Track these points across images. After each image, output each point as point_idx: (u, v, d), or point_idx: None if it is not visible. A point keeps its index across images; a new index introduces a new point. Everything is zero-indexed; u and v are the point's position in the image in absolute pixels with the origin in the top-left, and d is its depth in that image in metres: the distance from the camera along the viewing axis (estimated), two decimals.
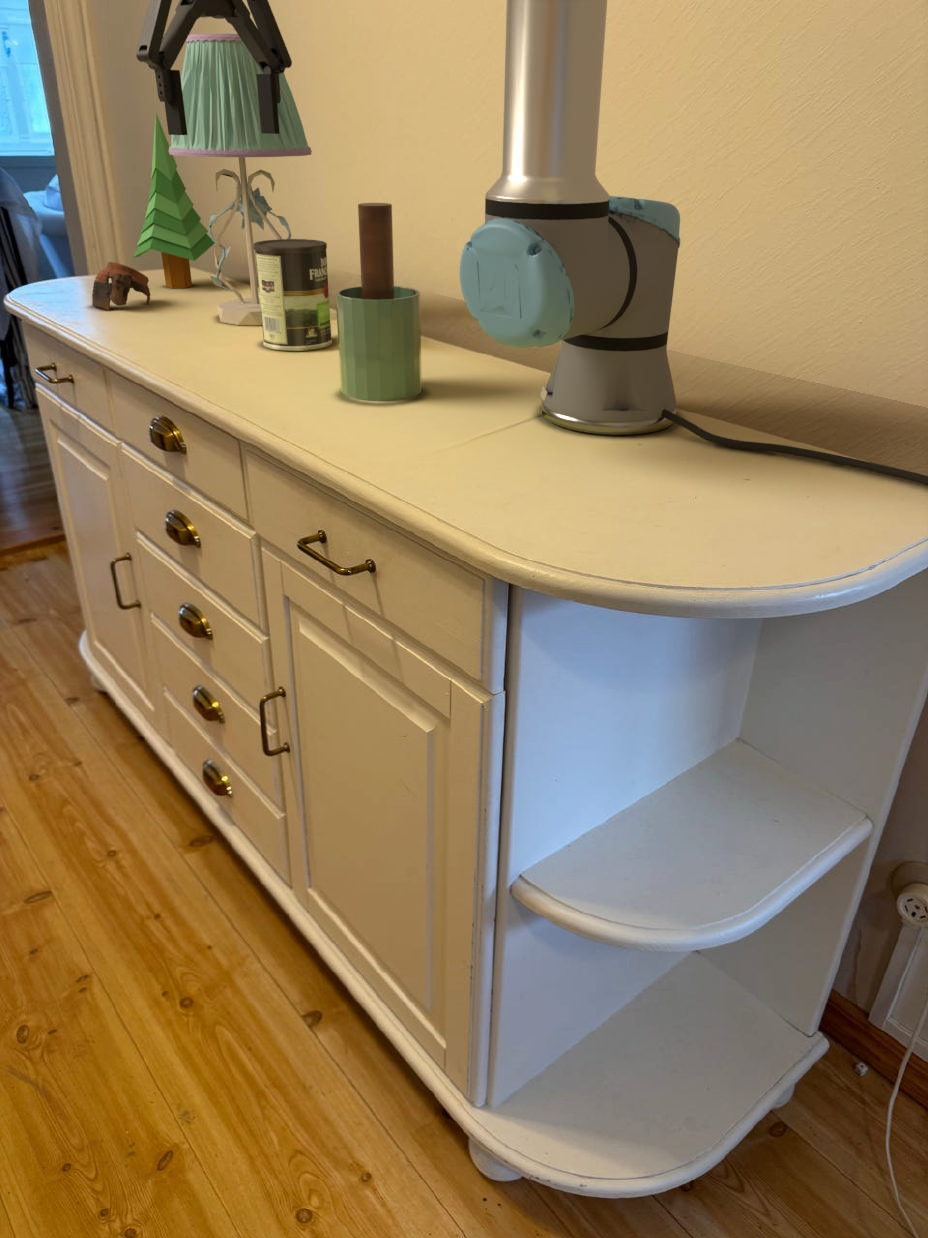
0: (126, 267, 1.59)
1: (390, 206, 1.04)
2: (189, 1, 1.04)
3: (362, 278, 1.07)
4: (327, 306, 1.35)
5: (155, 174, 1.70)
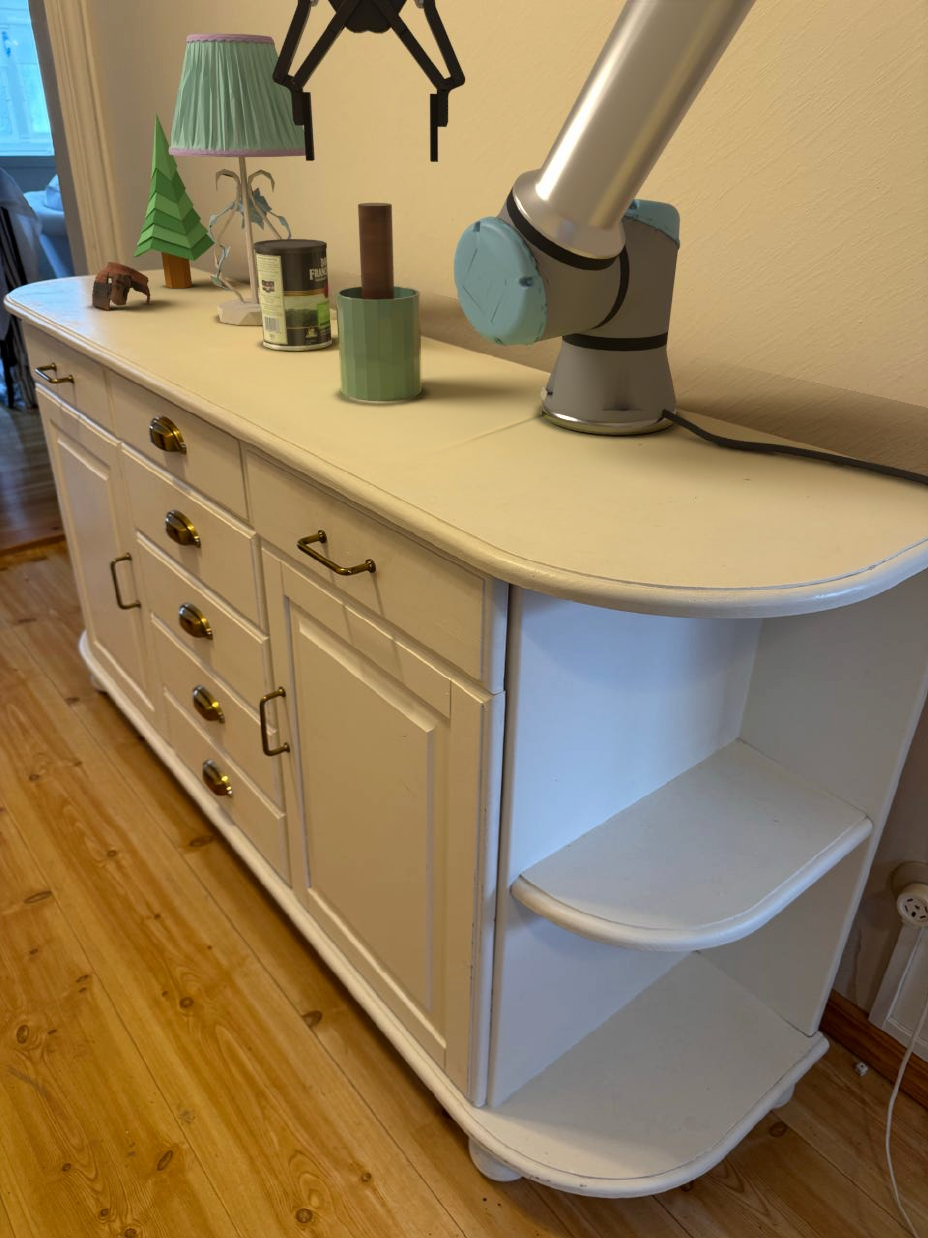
0: (126, 267, 1.59)
1: (390, 206, 1.04)
2: None
3: (362, 278, 1.07)
4: (327, 306, 1.35)
5: (155, 174, 1.70)
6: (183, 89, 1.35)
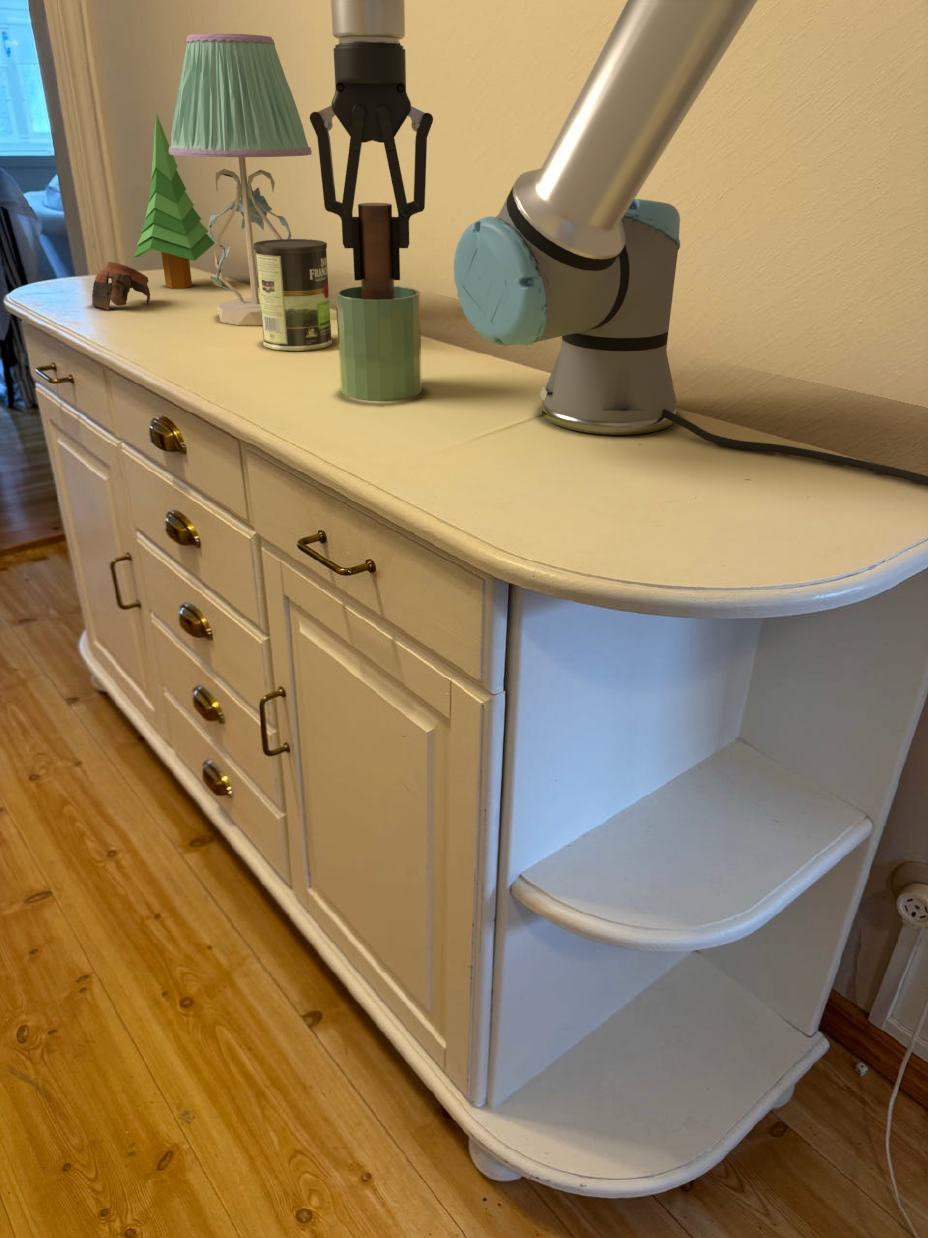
0: (126, 267, 1.59)
1: (390, 206, 1.04)
2: None
3: (362, 278, 1.07)
4: (327, 306, 1.35)
5: (155, 174, 1.70)
6: (183, 89, 1.35)
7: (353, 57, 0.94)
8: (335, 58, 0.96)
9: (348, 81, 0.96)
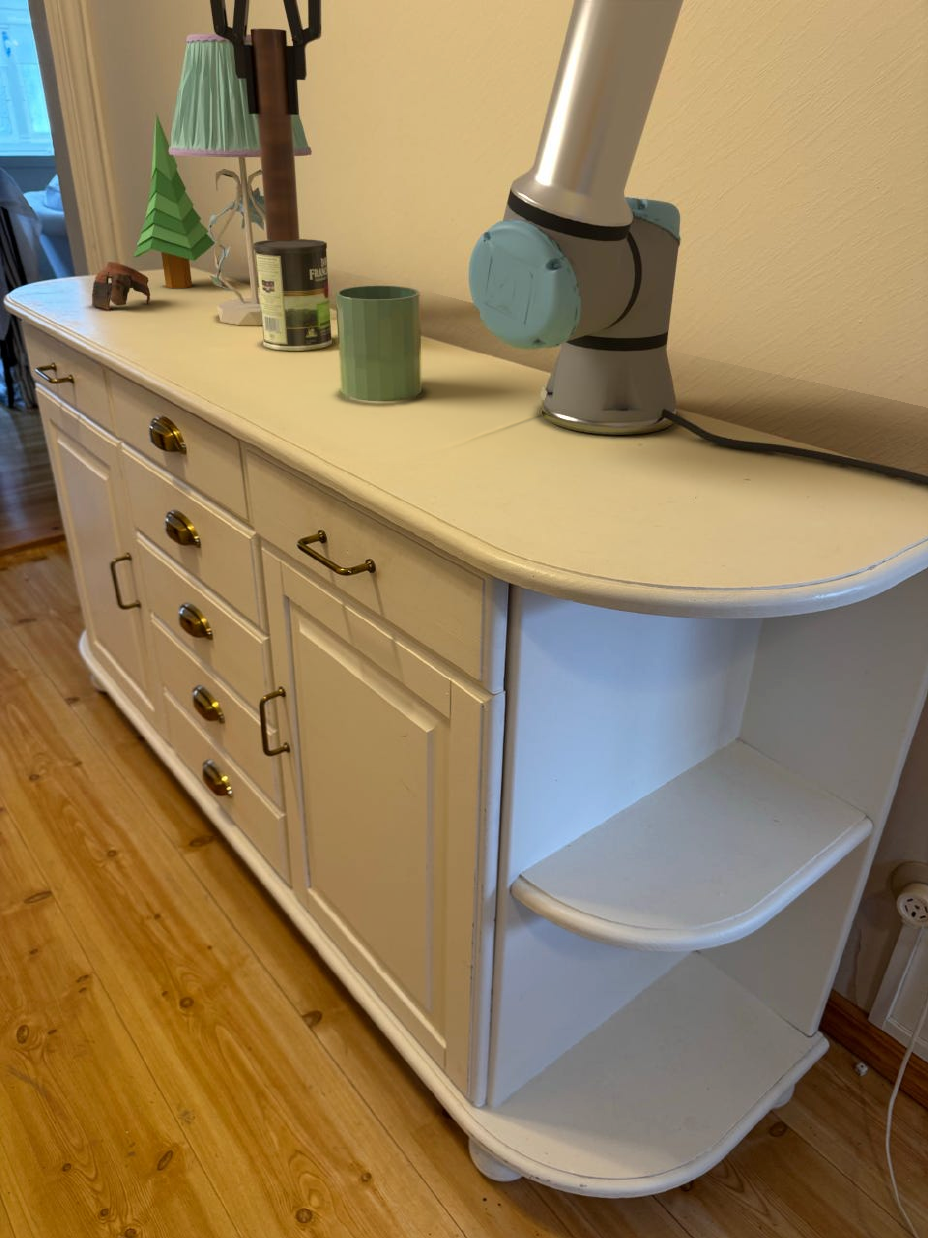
0: (126, 267, 1.59)
1: (284, 31, 0.99)
2: None
3: (257, 112, 1.02)
4: (327, 306, 1.35)
5: (155, 174, 1.70)
6: (183, 89, 1.35)
7: None
8: None
9: None
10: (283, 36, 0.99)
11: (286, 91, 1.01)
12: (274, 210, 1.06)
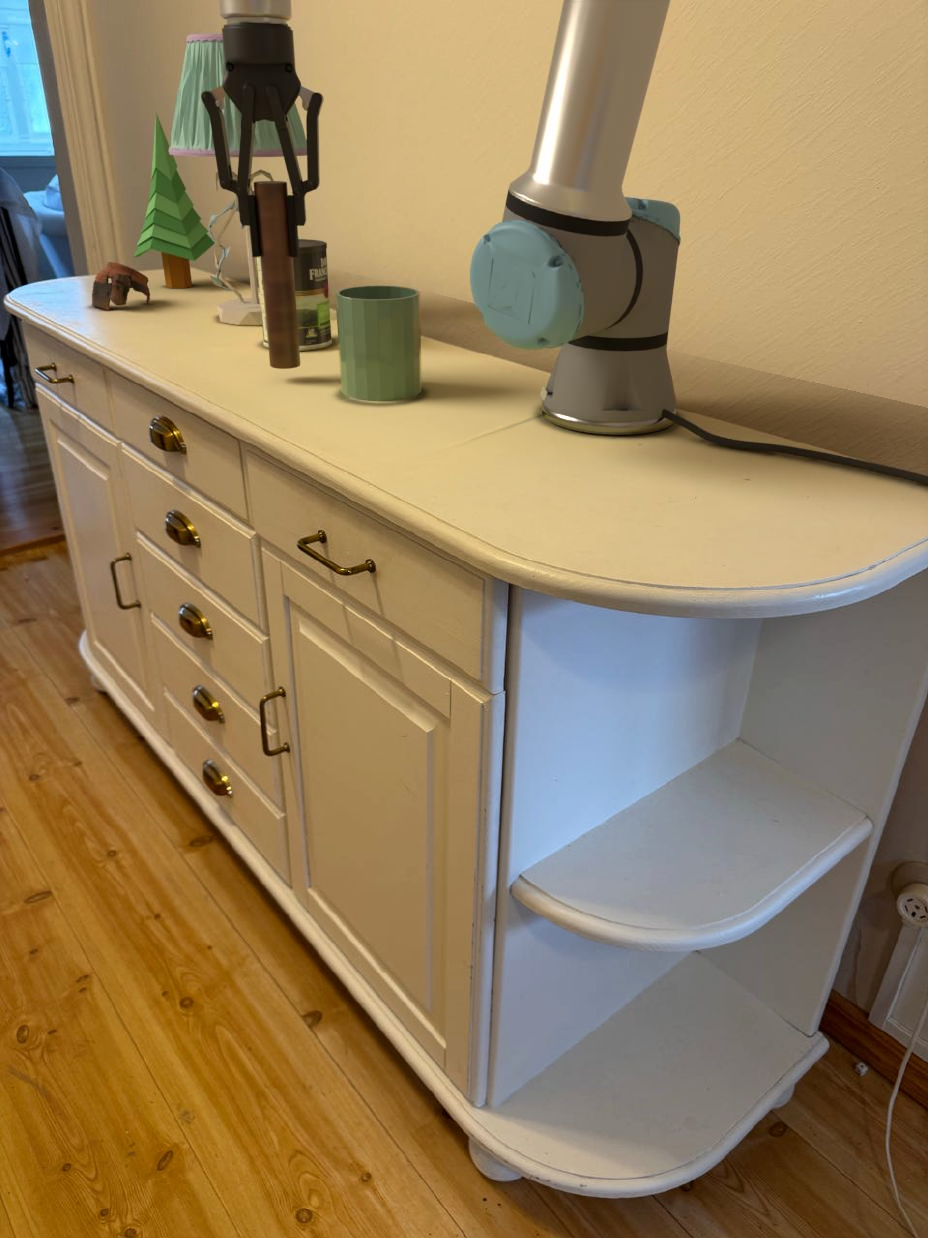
0: (126, 267, 1.59)
1: (285, 184, 1.06)
2: None
3: (260, 255, 1.10)
4: (327, 306, 1.35)
5: (155, 174, 1.70)
6: (183, 89, 1.35)
7: (239, 37, 0.97)
8: (223, 38, 0.99)
9: (235, 60, 0.98)
10: (284, 188, 1.06)
11: (287, 236, 1.09)
12: (276, 342, 1.14)
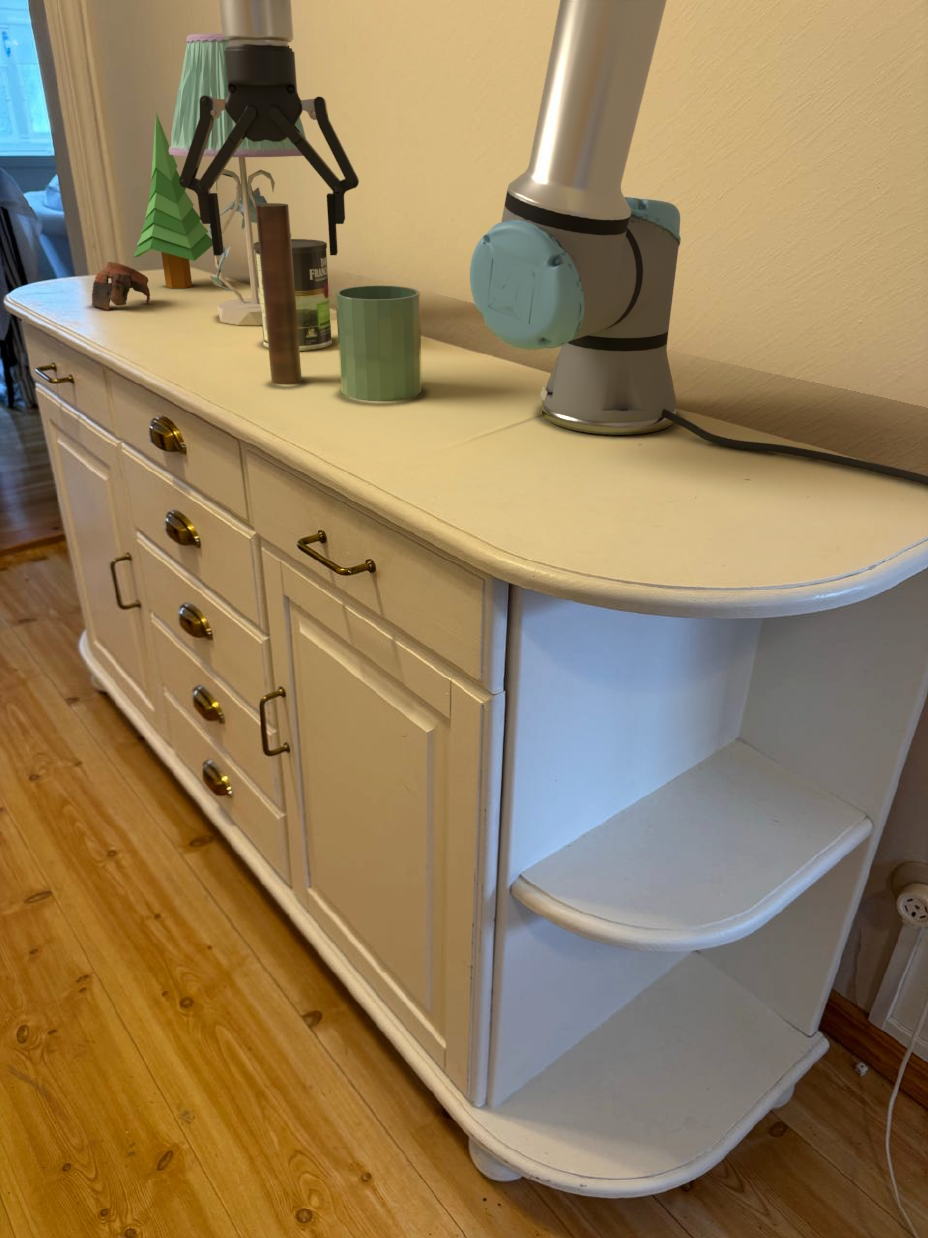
0: (126, 267, 1.59)
1: (286, 206, 1.08)
2: None
3: (262, 276, 1.11)
4: (327, 306, 1.35)
5: (155, 174, 1.70)
6: (183, 89, 1.35)
7: (241, 59, 0.98)
8: (225, 60, 1.00)
9: (238, 82, 0.99)
10: (285, 211, 1.08)
11: (288, 258, 1.10)
12: (278, 361, 1.15)
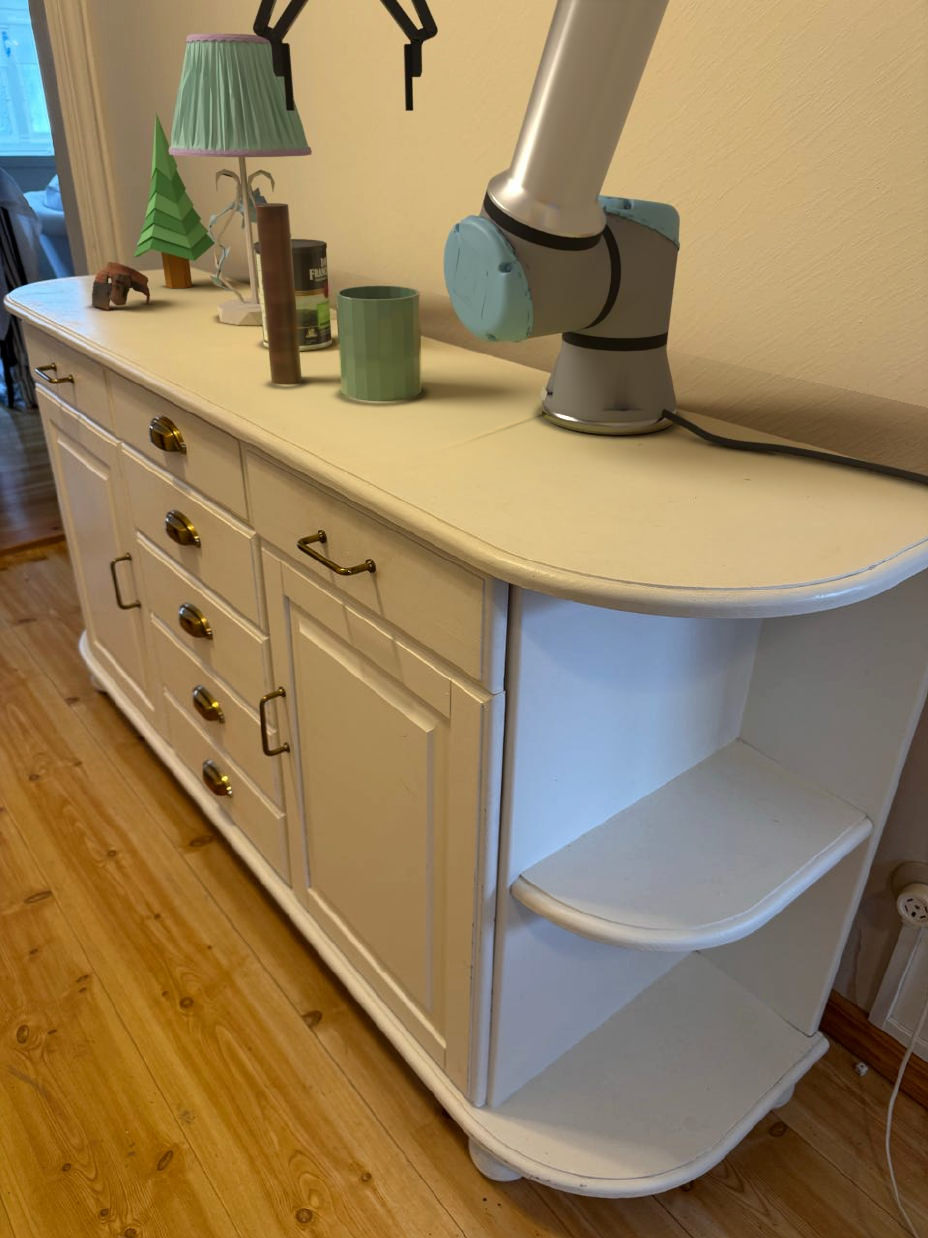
0: (126, 267, 1.59)
1: (286, 206, 1.08)
2: None
3: (262, 276, 1.11)
4: (327, 306, 1.35)
5: (155, 174, 1.70)
6: (183, 89, 1.35)
7: None
8: None
9: None
10: (285, 211, 1.08)
11: (288, 258, 1.10)
12: (278, 361, 1.15)
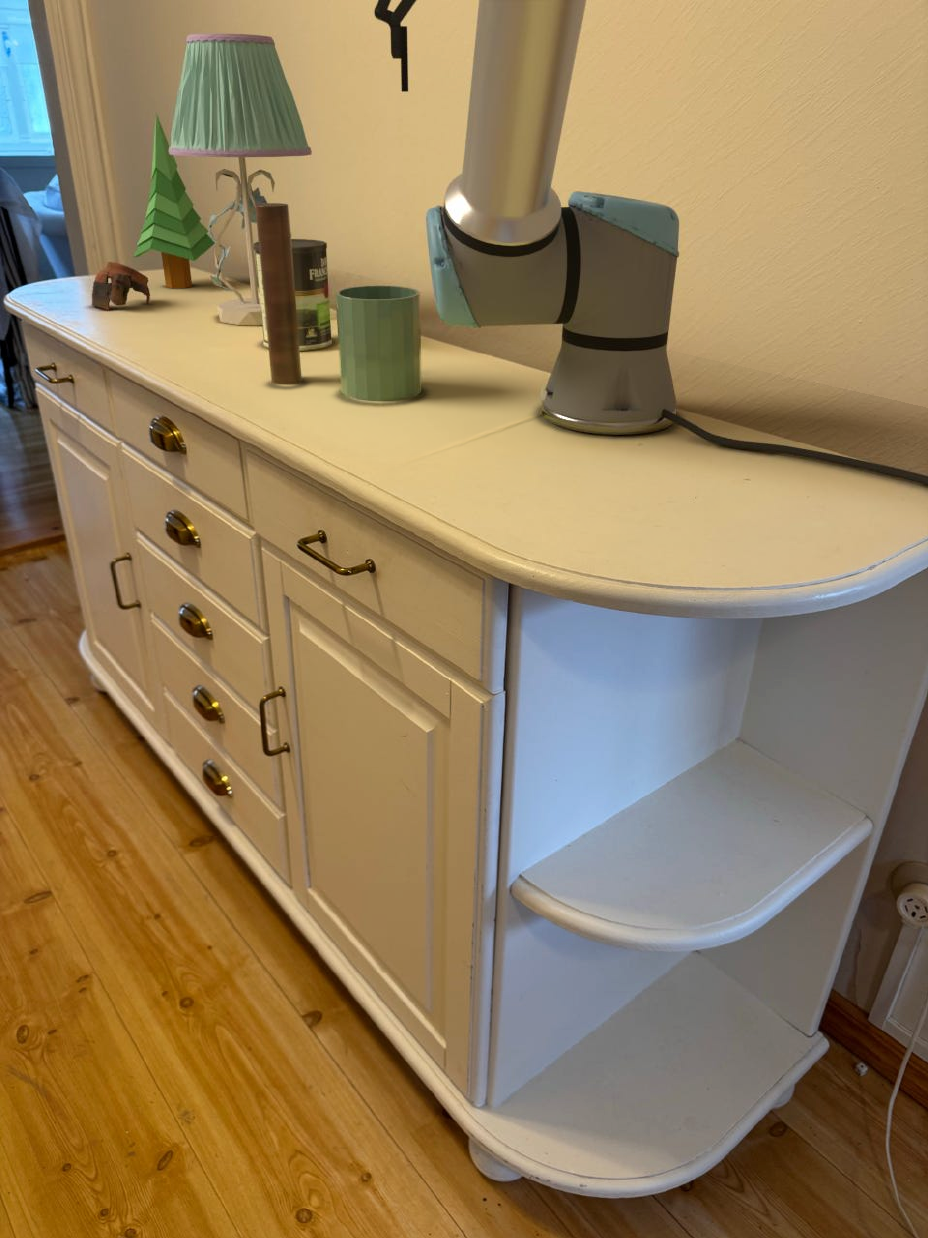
0: (126, 267, 1.59)
1: (286, 206, 1.08)
2: None
3: (262, 276, 1.11)
4: (327, 306, 1.35)
5: (155, 174, 1.70)
6: (183, 89, 1.35)
7: None
8: None
9: None
10: (285, 211, 1.08)
11: (288, 258, 1.10)
12: (278, 361, 1.15)
